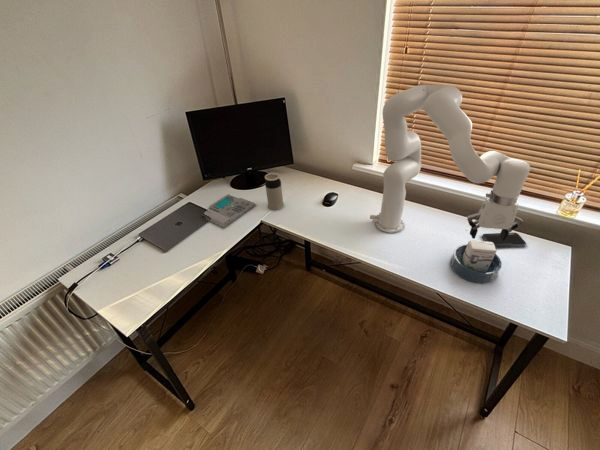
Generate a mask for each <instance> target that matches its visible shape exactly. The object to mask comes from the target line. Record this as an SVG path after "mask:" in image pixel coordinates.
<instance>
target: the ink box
mask: <svg viewBox="0 0 600 450" xmlns="http://www.w3.org/2000/svg"><path fill="white" fill-rule="evenodd" d="M466 244H467V247H466V249H465V252H464V255H463V257H462V260H461V264H462V265H463V266H465V267H467V268H469V269H471V270H473V271H477V272H487V270H488V268H489V266H490V264H491V262H492V260H493V258H494V255H495V254H497V252H498V250H497V248H495V245H494V243H493V242H486V241H484V240H475V239H473V240H472V239H471V240H468V242H467V243H466Z"/></svg>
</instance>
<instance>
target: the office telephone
mask: <svg viewBox="0 0 600 450" xmlns="http://www.w3.org/2000/svg"><path fill="white" fill-rule="evenodd" d="M255 206H256V203H255V202H253V201H250V200H248V199H246V198H242V197H236V196H234V195H231V194H230V193H228V194H226V195H224V196H222V197H221V198H220V199H218V200H216V201H215V202H213V203H212V204H210V205H209V206H208V208H209V209H207V210H205V211H204V212H203V213H204V214H205V215H207V216H209V217H210V218H211V220H209V219H207V218H206V219H205V220H207V221H208V222H210V223H212V224H214V225H216V226H218V227H220V228H222V229H225V228H227V227H228V226H230V225H231V224H232V223H233V222H235V221H236V220H238V219H239V218H240V217H241V216H243V215H244V214H246V213H247V212H248V211H249V210H251V209H252V208H254V207H255Z"/></svg>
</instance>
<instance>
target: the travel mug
mask: <svg viewBox="0 0 600 450" xmlns="http://www.w3.org/2000/svg"><path fill="white" fill-rule="evenodd" d="M264 179H265V182H264V186H265V193H266V198H267V206H268V208H269V209H270V210H273V211H278V210H280V209H282V208H283V207H284V198H283V188H282V181H281V176H280V174H279V173H277V172H269V173H267V174H265V175H264Z"/></svg>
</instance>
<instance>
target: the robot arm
mask: <svg viewBox="0 0 600 450" xmlns="http://www.w3.org/2000/svg"><path fill="white" fill-rule="evenodd" d="M462 102H463V94H462V92H461V90H460V89H459V88H457V87H456V86H453V85H442V84H440V85H439V84H417V85H415V86H413V87H409V88H406V89H405V90H401V91H399V92H397V93H395V94H393V95H392V96H390V97H389V98H388V99H387V100H386V101H385V103H384V105H383V107H382V120H383V126H384V127H383V128H384V147H385V148H384V149H385V155H386V158H387V159H388V160H389V161H391V162H393V163H392V164H390V165H389V166H387V167H386V169H384V172H383V176H382V179H383V180H382V181H383V191H382V200H381V208H380V212H378V213H379V214H370V215H369V219H370V220H372V222H374V223H375V226H376V227H377V229H378V230H380V231H382V232H385V233H391V234H393V233H394V234H395V233H398V232H400V231H402V230H403V228H404V225H405V223H404V221H403V220H402V217H403V211H404V208H405V207H404V206H405V201H406V195H407V190H406V184H407V183H408V182H409V181H410V180H412V179H413V178H415V177H417V175H419V173H420V172H421V169H422V140H421V138H420V135H418V133H416V132H415V131H414V130H408V122H407V120H406V118H405V117H406V116H409V115H411V114H414V113H416V112H418V111H420V110H424V112H425V114H426V115H427V116H428V118H429V119H430V120H431V121H432V123H433V124H434V125H435V126H436V127H437V129H438V130H439V131H440V132H441V134H442V135H443V136H444V138H445V139H446V141H447V142H448V148H449V152H450V155H451V159H452V161H453V163H454V165H455V166H456V167H457V169H458V170H459V171H460V172H461V174H462V175H463V176H464V178H466V179H467V180H468V181H470V182H471V183H473V184H485V183H486V182H488V181H490V180H491V179H492V178H494V177H496V178H495V181H494V183H493V186H492V189H491V190H490V192H486V193H485V197H486V199H485V200H484V202H483V203H482V205H481V207H480V209H479V210H478V212H476V213H473V214H470V215H467V216H466V221H467V222H468V225H469V226H470V231H469V235H470V236H471V238H472V239H473V240H475V239H476V238H477V237H476V236H477V234H478V231H479V230H478V229H479V228H483V229H492V230H493V229H495V230H501V231H500V232H499V233H500V237H501V239H502V240H503V241H505V239H506V237H507V236H508V234H509V233H512V232H513V230H515V229H517V228H518V227H519V226H520V225H522V224H523V223H524V220H523V219H522V218H520V217H519V216H517V214H518V209H519V202H518V198H519V197H520V194H521V192H522V190H523V187H524V185H525V183H526V181H527V178H528V177H529V174H530V172H531V164H530V163H528V162H527V161H525V160H522V159H517V158H512V157H511V156H508V155H505V154H504V153H502V152H499V151H496V150H489V151H486V152H484V153H483V154H481V155H479V154H478V153H477V151H476V150H475V148H474V147H473V144H472V140H471V139H472V138H471V135H472V131H473V122H472V120H471V119H470V118H469V117H468V115H467V114H466V113H465V112H464V111H463V110H462V109H461V107H460V106H461V104H462ZM473 220H474V221H473Z"/></svg>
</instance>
